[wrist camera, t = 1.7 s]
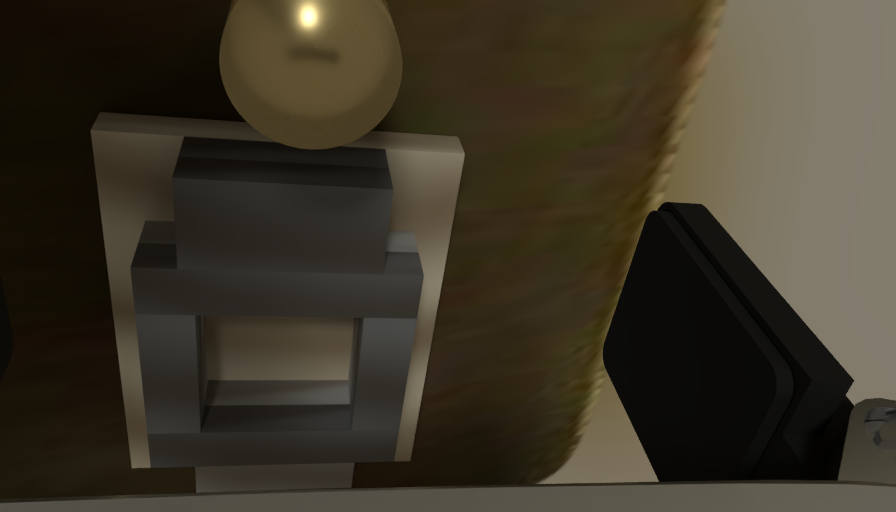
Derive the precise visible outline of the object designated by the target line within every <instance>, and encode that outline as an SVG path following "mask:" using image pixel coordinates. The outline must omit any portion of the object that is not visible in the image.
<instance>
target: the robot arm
mask: <svg viewBox="0 0 896 512" xmlns="http://www.w3.org/2000/svg"><path fill="white" fill-rule="evenodd" d="M12 349H13V336H12V330H11V325H10V321H9V316H8V311H7V307H6V302H5V297H4V293H3V288H2V283H1V279H0V381H1V379H2V377H3V374H4V372H5V370H6V368H7V366H8V364H9V362H10V359H11V355H12ZM603 361H604V365H605V368H606V370H607V373H608V375H609V377H610V378H611V381H612V383H613V385H614V387H615V389H616V392H617V394H618V396H619V398H620V400H621V402H622V404H623V406H624V408H625V410H626V412H627V415H628V417H629V419H630V421H631V423H632V425H633V427H634V429H635V432H636V433H637V436H638V438H639V440H640V442H641V444H642V446H643V448H644V450H645V453H646V454H647V457H648V459H649V461H650V463H651V465H652V467H653V470H654V472H655V474H656V476H657V478H658V480H659V482H628V483H627V482H624V483H572V484H521V485H477V486H436V487H394V488H355V489H317V490H279V491H243V492H211V493H178V494H145V495H112V496H79V497H47V498H14V499H0V512H896V401H895V400H888V399H883V398H874V399H865V400H863V401H861V402H859V403H857V404H855V406H854V405H853V404H852V403H851V401H850V400H849V399H848V398H847V397H846V393H847V392H848V390H849V388H850V387H851V385H852V383H853V382H854V380H853V379H852V377H851V376H850V375H849V374H848V373H847V372H846V371H845V370H844V368H843V367H842V366H841V365H840V364H839V362H838V361H837V360H836V359H835V358H834V357H833V355H832V354H831V353H830V352H829V351H828V349H827V348H826V347H825V346H824V345H823V344H822V342H821V341H820V340H819V339H818V338H817V337H816V335H815V334H814V333H813V332H812V331H811V330H810V328H808V326H807V325H806V324H805V323H804V321H803V320H802V319H801V318H800V317H799V316H798V314H797V313H796V312H795V311H794V310H793V309H792V307H791V306H790V305H789V304H788V303H787V302H786V300H785V299H784V298H783V297H782V296H781V295H780V293H779V292H778V291H777V290H776V289H775V288H774V286H773V285H772V284H771V283H770V282H769V281H768V279H767V278H766V277H765V276H764V275H763V274H762V272H761V271H760V270H759V269H758V268H757V267H756V265H755V264H754V263H753V262H752V261H751V260H750V258H749V257H748V256H747V255H746V254H745V253H744V251H743V250H742V249H741V248H740V247H739V246H738V244H737V243H736V242H735V241H734V240H733V238H732V237H731V236H730V235H729V234H728V233H727V232H726V230H725V229H724V228H723V227H722V226H721V225H720V223H719V222H718V221H717V220H716V219H715V217H714V216H713V215H712V214H711V213H710V212H709V210H708V209H707V208H706V207H705V206H703V205H702V204H691V203H673V202H665V203H663V204H662V205H661V206H660V207H659V208H658V210H657V211H652V212H650V213H649V215H648V216H647V218H646V220H645V223H644V226H643V229H642V232H641V235H640V238H639V241H638V244H637V247H636V250H635V253H634V256H633V259H632V262H631V265H630V268H629V271H628V274H627V277H626V280H625V283H624V286H623V289H622V292H621V295H620V298H619V301H618V304H617V307H616V310H615V313H614V316H613V319H612V322H611V325H610V328H609V330H608V333H607V336H606V339H605V342H604V347H603Z"/></svg>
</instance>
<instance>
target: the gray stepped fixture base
mask: <svg viewBox="0 0 896 512" xmlns="http://www.w3.org/2000/svg"><path fill="white" fill-rule="evenodd" d="M91 138H92V146H93V154H94V162H95V170H96V179H97V187H98V195H99V203H100V211H101V219H102V228H103V236H104V244H105V252H106V260H107V268H108V277H109V285H110V293H111V301H112V309H113V317H114V326H115V334H116V342H117V350H118V358H119V366H120V375H121V383H122V391H123V399H124V407H125V416H126V424H127V432H128V440H129V448H130V456H131V465H132V468H168V467H195V474H196V493H199V492H230V491H260V490H290V489H321V488H351V487H352V479H353V470H354V463H361V462H394V461H410V460H411V454H412V449H413V443H414V437H415V432H416V426H417V421H418V415H419V409H420V404H421V398H422V392H423V387H424V381H425V376H426V370H427V364H428V359H429V353H430V347H431V342H432V336H433V331H434V325H435V319H436V314H437V308H438V302H439V297H440V291H441V286H442V280H443V274H444V269H445V263H446V257H447V252H448V246H449V241H450V235H451V229H452V224H453V218H454V212H455V207H456V201H457V196H458V190H459V184H460V179H461V173H462V167H463V162H464V156H465V153H464V151H463V148H462V146H461V143H460V140H459V138H458V137H455V136H441V135H426V134H412V133H397V132H382V131H370V132H368V133H367V134H365V135H364V136H362V137H360V138H358V139H357V140H355V141H353V142H350V143H347V144H345V145H342V146H338V147H334V148H327V149H302V148H296V147H292V146H287V145H284V144H282V143H279V142H276V141H274V140H272V139H270V138H268V137H266V136H265V135H263V134H262V133H260V132H259V131H257V130H256V129H254V128H253V127H252V126H251V125H250V124H249V123H247V122H237V121H223V120H208V119H193V118H179V117H164V116H150V115H135V114H121V113H106V112H100V113H99V115H98V117H97V119H96V121H95V123H94V125H93V127H92V129H91Z"/></svg>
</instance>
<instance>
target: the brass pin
mask: <svg viewBox="0 0 896 512" xmlns="http://www.w3.org/2000/svg"><path fill="white" fill-rule="evenodd" d="M219 63H220V73H221V77H222V81H223V85H224V87H225V90H226V93H227V95H228V97H229V99H230V100H231V102H232V104H233V106H234V107H235V108H236V110H237V111H238V113H239V114H240V115H241V116H242V117H243V118H244V119H245V120H246V122H247V123H249V124H250V125H251V126H252V127H253V128H254V129H256V130H257V131H259V132H260V133H262V134H263V135H265V136H266V137H268V138H270V139H272V140H274V141H276V142H279V143H282V144H284V145H287V146H292V147H296V148H302V149H327V148H334V147H338V146H342V145H345V144H347V143H350V142H353V141H355V140H357V139H358V138H360V137H362V136H364V135H365V134H367V133H368V132H370V131H371V130H372V129H373V128H374V127H375V126H377V125H378V124H379V123H380V122H381V120H382V119H383V118H384V117H385V116H386V114H387V113H388V111H389V110H390V108H391V107H392V105H393V103H394V101H395V99H396V97H397V94H398V91H399V88H400V83H401V78H402V65H403V64H402V53H401V49H400V44H399V40H398V37H397V34H396V31H395V28H394V24H393V21H392V18H391V15H390V12H389V9H388V5H387V2H386V0H232V1H231V5H230V9H229V12H228V16H227V20H226V24H225V28H224V32H223V35H222V40H221V45H220V55H219Z"/></svg>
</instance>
